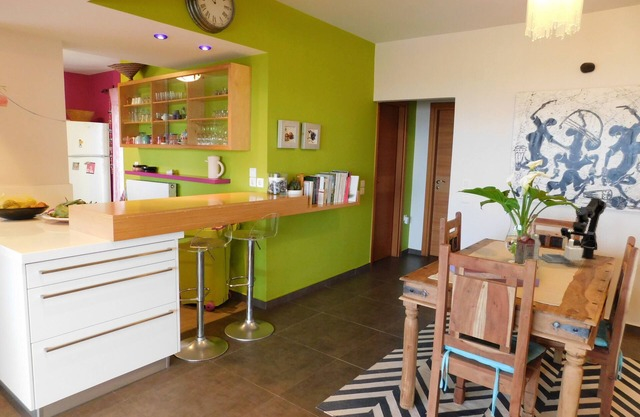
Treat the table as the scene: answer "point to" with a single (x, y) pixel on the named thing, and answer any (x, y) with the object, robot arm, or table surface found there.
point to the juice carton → (524, 248)
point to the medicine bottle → (573, 250)
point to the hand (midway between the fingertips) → (573, 244)
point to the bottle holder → (555, 259)
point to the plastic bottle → (536, 246)
